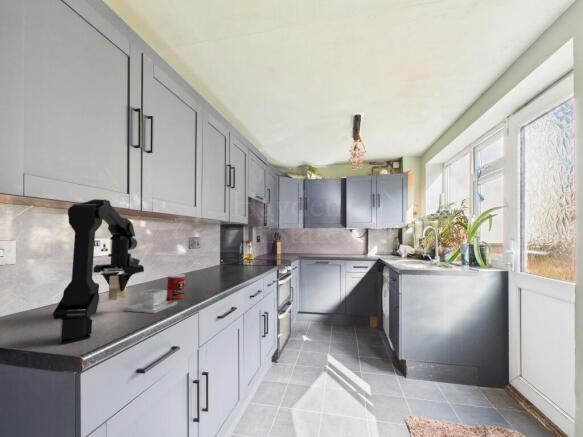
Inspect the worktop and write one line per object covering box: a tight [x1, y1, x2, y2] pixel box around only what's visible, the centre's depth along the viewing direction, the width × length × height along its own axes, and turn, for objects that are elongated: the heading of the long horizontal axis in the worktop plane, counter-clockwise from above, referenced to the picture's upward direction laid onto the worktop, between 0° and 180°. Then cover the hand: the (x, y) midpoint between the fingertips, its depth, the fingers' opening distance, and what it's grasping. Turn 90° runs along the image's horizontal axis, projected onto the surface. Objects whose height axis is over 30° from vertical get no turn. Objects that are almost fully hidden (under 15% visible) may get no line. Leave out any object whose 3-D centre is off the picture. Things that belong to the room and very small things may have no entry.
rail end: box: [107, 275, 127, 301], centre depth 102 cm, size 4×4×9 cm
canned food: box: [166, 273, 186, 301], centre depth 125 cm, size 8×8×11 cm
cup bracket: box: [123, 288, 178, 314], centre depth 109 cm, size 14×14×6 cm
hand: (117, 290), depth 102 cm, fingers closed on rail end, 4 cm apart
